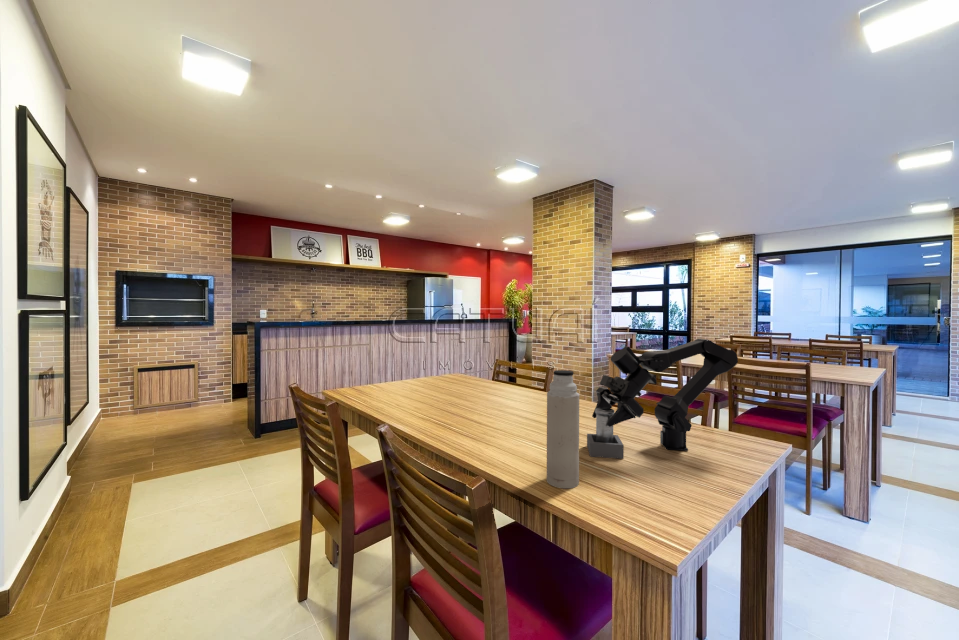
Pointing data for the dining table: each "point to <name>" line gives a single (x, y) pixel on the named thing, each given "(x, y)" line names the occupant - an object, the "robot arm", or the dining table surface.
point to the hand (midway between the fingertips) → (600, 421)
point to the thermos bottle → (563, 431)
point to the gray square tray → (605, 447)
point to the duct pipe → (604, 425)
